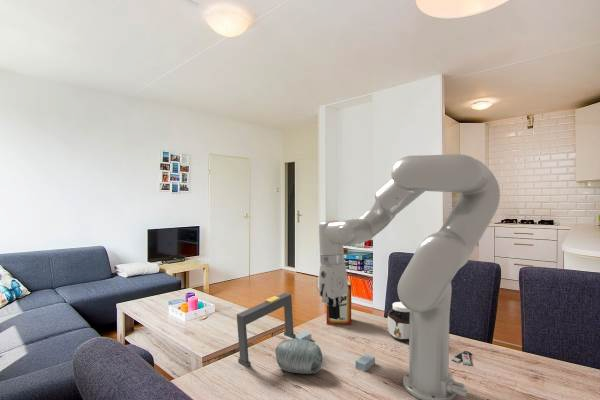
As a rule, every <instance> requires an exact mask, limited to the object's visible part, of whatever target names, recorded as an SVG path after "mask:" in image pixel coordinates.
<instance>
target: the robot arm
mask: <svg viewBox="0 0 600 400" xmlns="http://www.w3.org/2000/svg"><path fill="white" fill-rule="evenodd" d="M390 176H391V178H390V179H389V180H388V181H386V182H385V183H384V184H383V185H382V186H380V188H379V189H377V190H376V191H375V193H374V200H375V201H374V204H373V206H372V207H371V208H369V210H368V211H366V212H365V213H364V214H363V215H361V216H360V217H359V218H355V219H346V220H324V221H321V222H319V224H318V239H319V240H318V241H319V260H320V261H319V263H320V264H319V274H318V290H319V296H320V297H321V298H322V299H321V302H322V303H325V304H326V303H327V305H328V310H329V318H332V319H336V320H337V319H339V318H340V306H339V305H340V303H341V297H343V296H344V294H346V293H347V292H348V281H349V280H348V272H347V267H346V262H345V255H344V254H345V253H344V251H345V250H344V246H353V245H356V244H357V245H358V244H363V243H366V242H368V241H370V240H371V239H373V238H375V237H376V235H378V234H379V233H380V232H382V231H383V230H384V229H386V227H388V225H389V224H390V223H392V221H393V220H394V219H395V217H396V216H397V215H398V214H399V213H400V212H401V211H403V210H404V209H405V208H407V207H408V206H409V205H410V204H411V203H413V202H414V201H415V200H416V199H418V198H419V197H420V196H421V195H423V193H425V192H439V193H440V192H443V193H456V194H457V193H459V198H458V200H457V202H456V203H455V205H454V206H453V208H452V210H451V211H450V212H449V215H448V217H447V218H446V220H445V221H444V223H443V225H442V226H441V228H440V229H439V230H438V231H437V232H435V233H432V234H430V235H428V236H427V237H426V238H424V239H423V240H422V241H421V242H420V244H419V246H418V247H417V249H416V250H415V252H414V253H413V256H412V257H411V259H410V261H409V262H408V264H407V266H406V268H405V269H404V271H403V273H402V274H401V276H400V278H399V280H398V284H397V295H398V300H400V301H399V302H401V303H402V304H403V305H404V306H405V307H406V308H407V309H409V310H410V325H409V342H408V343H409V344H408V345H409V347H408V349H409V351H408V353H409V354H408V355H409V356H408V371H409V372H407V373H406V374H404V375H403V378H402V386H403V388H404V389H405V390H406V391H407V392H408V393H409V394H410V395H411V396H414V397H415V398H417V399H418V400H454V399H455V398H456V397H457V396H459V397H461V398H464V399H467V398H468V394H469V393H468V392H469V391H468V389H467V388H465V387H466V385H465V383H462V382H459V381H455V379H454V378H453V373H452V372H450V316H451V315H450V314H451V301H452V292H453V291H452V290H453V289H452V280H453V279H454V277H455V276H456V274H457V273H458V272H459V270H460V269H461V268H462V267H464V266H465V265H466V264H467V263H468V262H469V260H470V258H471V257H472V256H471V255H472V254H473V252H474V250H475V249H476V247H477V245H478V244H479V242H480V240H481V238H483V235H485V232H486V230H487V228H488V226H489V225H490V223H491V221H493V218H494V217H495V215H496V213H497V210H498V208H499V205H500V200H501V199H500V198H501V191H500V190H501V189H500V185H499V182H498V180H497V178H496V176H495V175H494V173H493V172H492V171H491V169H490V168H489V167H488V166H487V165H485V163H483V162H482V161H480V160H478V159H476V158H475V157H473V156H471V155H470V156H469V155H466V154H460V153H459V154H456V153H455V154H454V153H452V154H451V153H450V154H433V155H432V154H430V155H429V154H426V155H424V154H422V155H420V154H419V155H407V156H403V157H402V158H400V159H398V160H397V161H396V162H395V163H394V165H393V166H392V168H391V175H390ZM456 395H457V396H456Z"/></svg>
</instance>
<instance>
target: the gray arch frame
mask: <svg viewBox="0 0 600 400" xmlns="http://www.w3.org/2000/svg"><path fill="white" fill-rule="evenodd" d="M282 308H283V312H284V314H283V315H284V327H285V329H284V330H285V331H283V335H284V336H285V337H288V338H290V339H294V338H295V337H296V335H297V334H295V333H294V319H293V317H294V315H293V300H292V294H291V293H287V292H283V293H281V294H279V295H273V296H271V297H268V298H267V299H265V301H263V302H261V303H259V304H257V305H255V306H252V307H250V308H248V309H245V310H244V311H241V312H239V313H237V314H236V324H237V326H236V327H237V337H238V348H239V350H238V351H239V358H238V359H237V362H238V363H239V364H240V365H243V366H245V367H246V368H249V367H251V366H252V364H251V363H252V362H251V360H249V348H248V346H249V345H248V335H247V334H248V333H247V325H249V324H251V323H253V322H256V321H257V320H259V319H261V318H263V317H265V316H267V315H269V314H271V313H273V312H275V311H277V310H279V309H282Z"/></svg>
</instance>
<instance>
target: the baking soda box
mask: <svg viewBox="0 0 600 400" xmlns="http://www.w3.org/2000/svg"><path fill="white" fill-rule="evenodd" d="M325 305H326V309H325V311H326V317H325V318H326V325H337V326H338V325H343V326H345V325H346V326H351V325H352V283H351V281H350V280H348V292H347V293H346V294H344V296H343V297H341V303H340V305H339V306H340V318H339V319H337V320H336V319H332V318H329V310H328V305H327V303H325Z"/></svg>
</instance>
